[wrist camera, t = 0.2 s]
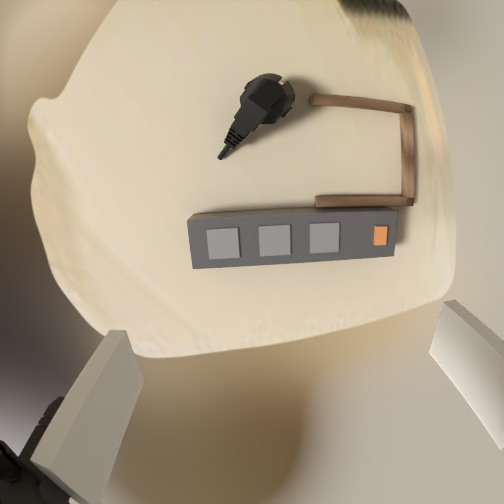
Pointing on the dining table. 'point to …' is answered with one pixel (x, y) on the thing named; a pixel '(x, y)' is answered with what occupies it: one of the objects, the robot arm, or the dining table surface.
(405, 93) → the dining table surface
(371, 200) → the bay
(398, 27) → the dining table surface
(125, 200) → the dining table surface
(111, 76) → the dining table surface
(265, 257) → the power strip
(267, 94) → the power plug
